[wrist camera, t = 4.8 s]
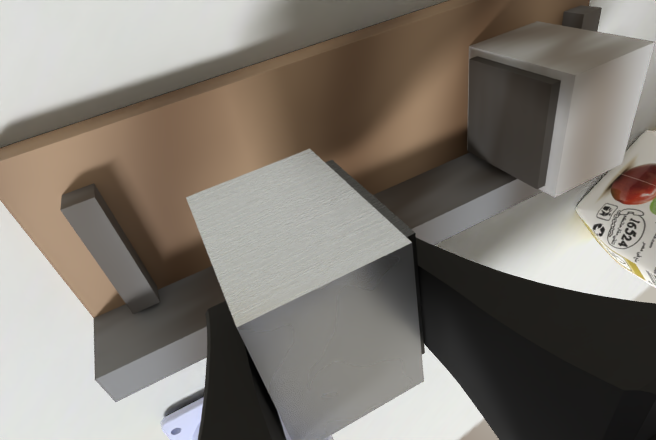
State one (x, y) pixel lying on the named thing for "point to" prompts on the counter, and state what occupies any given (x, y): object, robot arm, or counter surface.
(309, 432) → the matte gray brick
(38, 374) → the counter surface
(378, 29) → the rail
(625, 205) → the juice carton
